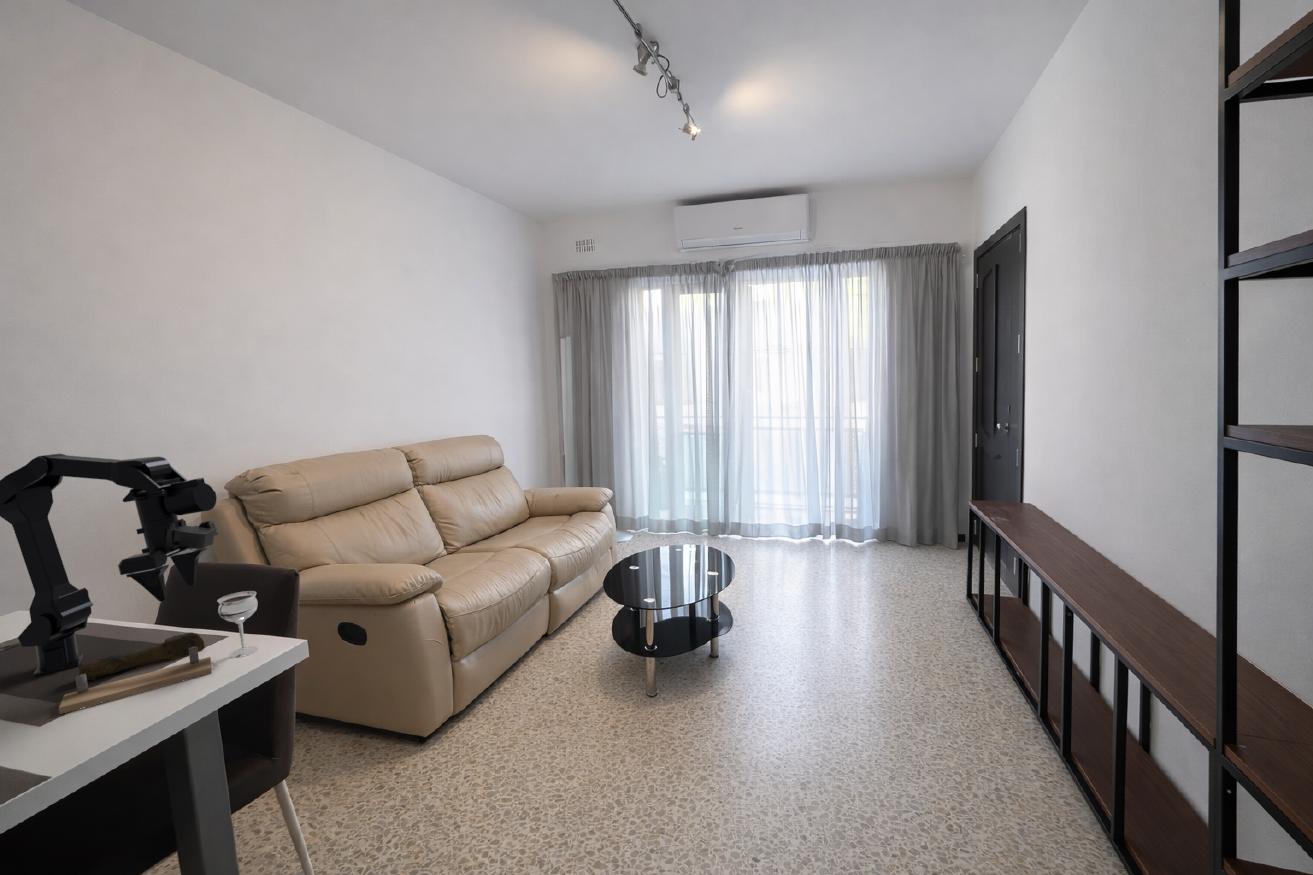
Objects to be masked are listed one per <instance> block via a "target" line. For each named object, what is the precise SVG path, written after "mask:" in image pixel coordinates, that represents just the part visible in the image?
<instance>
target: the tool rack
mask: <svg viewBox="0 0 1313 875" xmlns="http://www.w3.org/2000/svg"><path fill="white" fill-rule="evenodd" d="M188 650H189V655H188V658H189V661H188V662H184V663H180V664H177V665H174V666H173V665H172V666H169V667H165V668H162V669H158V670H157V669H156V670H154V671H150V672H147V673H143V674H139V675H135V676H131V677H127V678H124V679H123V678H122V679H120V680H119V679H118V680H116V681H111V682H108V683H104V684H99V685H97V686H92V687H88V686H89V685H88V681H87V677H86V674H82V675H77V676H75V684H76V685H75V686H76V691H73V692H70V693H66V694H64V695H63V698H62V699H61V701H60V702H61V703H59V706H58V713H59V714H61V713H65V714H68V713H71V712H70V711H72V712H75V711H78V710H77V709H79V710H81V709H80V708H83V707H86V708H89V707H94V706H96V705H95V704H97V705H100V704H99V703H101V702H105V703H107V702H106V701H108V702H111V700H112V701H115V700H119V699H122V697H123V698H126V697H129V696H133V695H138V694H140V693H145V692H148V691H151V689H152V690H154V689H159V688H162V687H166V686H165V685H167V686H170V685H173V684H172V683H174V684H178V683H180V682H184V681H183V680H185V681H188V680H191V679H190V678H192V679H195V678H198V677H202V676H205V675H209V674H212V661H211V660H212V659H211V656H208V657H204V658H199V651H198V648H197V646H195V647H191V648H189V649H188ZM187 679H188V680H187ZM169 684H170V685H169ZM144 691H145V692H144ZM125 696H126V697H125ZM118 698H119V699H118ZM101 704H102V703H101ZM93 705H94V706H93ZM83 709H84V708H83ZM74 710H75V711H74ZM67 712H68V713H67ZM61 715H62V714H61Z"/></svg>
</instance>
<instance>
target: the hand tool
mask: <svg viewBox="0 0 1313 875" xmlns="http://www.w3.org/2000/svg"><path fill="white" fill-rule="evenodd" d="M195 646H197V648H198V652H200V651H203V650H204V649H205V641H204V639H203V638H202V637H201V635H200V634H198V633H194V632H187V633H184V634H179V635H174V636H170V637H168V638H166V639H165V640H164V642H162V643H159V644H155V645H154V644H153V645H151V646H148V647H144V648H140V649H136V650H132V651H129V652H125V653H120V654H114V655H110V656H108V657H104V658H103V657H102V658H100V659H95V660H92V661H81V662H80V664H79V665H78V671H79V672H78V673H79V675H82V674H86V677H87V682H88V681H91V680H92V681H95V680H96V679H98V678H101V677H104V676H107V675H111V674H115V673H118V672H121V671H122V672H123V671H126V670H130V669H133V668H137V667H141V666H145V665H148V664H151V663H156V662H159V661H165V660H168V661H173V660H174V661H175V660H176V659H177V658H178V659H180V657H181V658H184V657H187V656H189V650H188V649H189V648H191V647H195ZM186 655H187V656H186Z"/></svg>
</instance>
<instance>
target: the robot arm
mask: <svg viewBox="0 0 1313 875" xmlns="http://www.w3.org/2000/svg"><path fill="white" fill-rule="evenodd" d="M64 477H67V478H78V479H79V478H81V479H92V480H104V481H109V482H111V483H113V484H115V485H117V486H119V487H124V488H128V489H129V492H128V493H127V494H126V495H124V497H123V498H122V502H123V503H128V502H129V503H130V502H135V506H136V511H137V515H138V518H139V523H140V526H141V528H137V529H135V531H136V534H137V535H140V534H141V535H142V534H143V538H144V543H145V546H146V547H144V548H141V553H139V554H134V555H131V556H129V557H126V558H122V559H121V561H120V562H119V564H117V567H118V571H119V574H120V575H121V576H123V575H125V576H126V578H131V579H133V580H134V581H135V582H137V583H138V584H139V585H141V587H143V588H144V589H145V590H146V591H147V592H149V594H151V595H152V596H153V597H154V598H155V599H156V600H157V601H158V602H165V601H166V600H167V588H166V582H165V576H164V574H165V572H166V571H167V570H168V568H169V567H170V564H167V561H168V558H169V557H170V559H171V561H172V563H173V564H174V566H175V568H176V569H177V571H178V572H179V574H180V575H181V577H182V579H183V580H184V582H185V583H186V585H187V586H188V587H194V586H195V585H196V579H197V572H198V565H199V560H200V557H201V556H202V555H203V554H204V553H205V552H206V551H207V550H208V547H209V546H212V545H213V544H214V538H215V537H217V536H218V535H219V532H218V531H217V530H218V528H217V527H216V525H215V522H214V521H210V520H205V521H202V522H201V523H200V524H199V525H194V526H189V525H187V522H186V520H184V518H178V516H185V515H190V514H197V513H203V512H208V511H212V510H213V509H214V507H215V506H216V504H217V492H216V491H215V490H214V489H213V487H212V486H211V485H210V484H209V483H207V482H206V481H205V478H204V477H198V478H194V479H189V480H188V479H187V478H185V477H184V476H183V475H182V474H181V473H180V472H179V471H177V470H176V469H175V468H174V467H173V466H171V464H170V462H169V461H168V459H167V458H165V457H163V456H148V457H138V458H128V459H127V458H126V459H117V458H116V459H114V458H102V457H91V456H88V457H87V456H79V455H78V456H76V455H67V454H64V453H52V454H51V453H50V454H44V455H38V456H36V457H34V458H33V459H31V460H30V461H29V462H27V464H25V465H23V466H22V467H20V468H18V469H16V470H14V471H12V472H11V473H8V474H7V475H5V476H4V477H3V478H1V479H0V518H2V519H3V520H4V521H6V522H8V523H9V525H10V524H11V526H12V528H13V531H14V534H15V538H16V540H17V543H18V546H19V549H20V552H21V556H22V558H23V560H24V564H25V568H26V570H27V573H28V575H29V578H30V581H31V584H32V587H33V588H32V589H33V590H34V595H33V598H32V601H31V605H30V607H29V617H30V623H29V624H28V625H27V626H26V627H25V628H24V629H23V631H22V632H21V633H20V634H19V635H18V636H17V640H18V642H19V643H20V645H21V646H22V648H24V647H35V652H36V657H37V664H38V665H37V666H36V669H35V670H34V672H33V676H34V677H37V676H41V675H45V674H49V673H54V672H59V671H62V670H65V669H70V668H74V667H79V665H80V664H81V662H82V660H83V659H84V658H83V657H84V653H78V652H79V651H78V646H77V638H76V632H79V631H81V630H84V629H86V628H87V624H88V620H89V618H90V616H91V615H92V607H93V606H94V603H93V602H92V601H91V598H90V595H89V590H88V589H87V588H86V587H82V588H80V589H79V588H77V587H76V586H75V585H73V584H72V583H70V581H69V578H68V575H67V572H66V571H67V570H66V568H65V565H64V562H63V559H62V556H61V554H60V549H59V547H58V544H57V541H56V539H55V535H54V532H53V528H52V527H51V524H50V520H49V515H50V512H51V509H52V507H53V504H54V498H53V490H55V489H56V488H57V487H58V486H59V485H60V484H61V483H62V482H63V478H64Z"/></svg>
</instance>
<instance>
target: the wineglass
mask: <svg viewBox="0 0 1313 875" xmlns="http://www.w3.org/2000/svg"><path fill="white" fill-rule="evenodd" d="M256 595H257V591H254V590H246V591H239V592H234V593H230V594H227V595H224V596H222V597H220V598H218V599H217V601H216V602H218V604H219V606H218V609H217V611H218V612H217V613H218V615H219V616H220V618H222V619H224V620H225V621H227V622H231V623H235V625H237V626H238V631H239V632H238V633H239V639H240V643H241V648H238V649H236V650H234V651H232V652H230V653H229V655H228V656H229V657H230V658H232V659H233V658H242V657H247V656H249V655H251V654H254V653H255V652H257V651H258V649H259V648H258V647H257V646H245V638H244V637H245V636H244V625H243V623H244V622H245V621H246V620H248V619H249V618H251V616H253V615H254V613H255V612H256V611H257V610H258V604H259V603H258V599H257V598H256Z"/></svg>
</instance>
